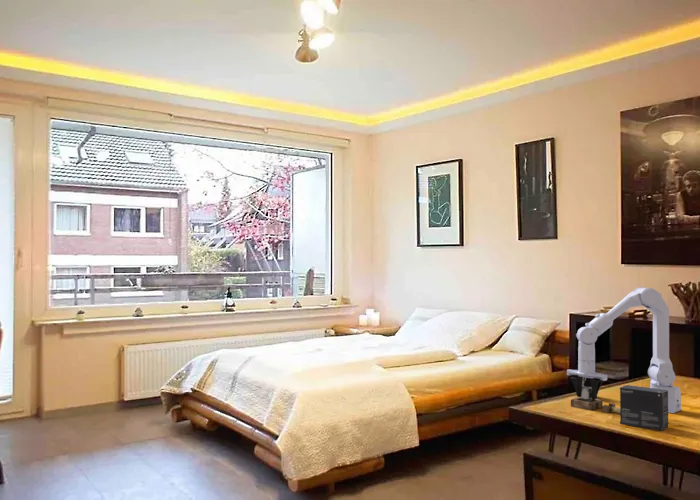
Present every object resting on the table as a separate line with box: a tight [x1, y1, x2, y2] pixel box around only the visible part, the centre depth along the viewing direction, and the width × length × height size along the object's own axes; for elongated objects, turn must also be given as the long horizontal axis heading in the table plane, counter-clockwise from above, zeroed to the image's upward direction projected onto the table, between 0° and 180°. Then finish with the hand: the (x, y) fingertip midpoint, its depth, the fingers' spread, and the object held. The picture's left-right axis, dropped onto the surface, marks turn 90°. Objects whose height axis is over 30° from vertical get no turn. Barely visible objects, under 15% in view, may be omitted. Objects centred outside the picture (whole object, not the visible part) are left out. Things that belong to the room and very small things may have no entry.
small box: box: [619, 384, 669, 432], centre depth 197 cm, size 13×7×12 cm, turn 48°
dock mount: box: [570, 397, 616, 414], centre depth 220 cm, size 13×8×2 cm, turn 42°
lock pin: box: [610, 406, 620, 414], centre depth 213 cm, size 9×2×4 cm, turn 42°
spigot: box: [581, 386, 593, 402], centre depth 223 cm, size 4×4×7 cm
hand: (586, 397), depth 222 cm, fingers open, 5 cm apart
